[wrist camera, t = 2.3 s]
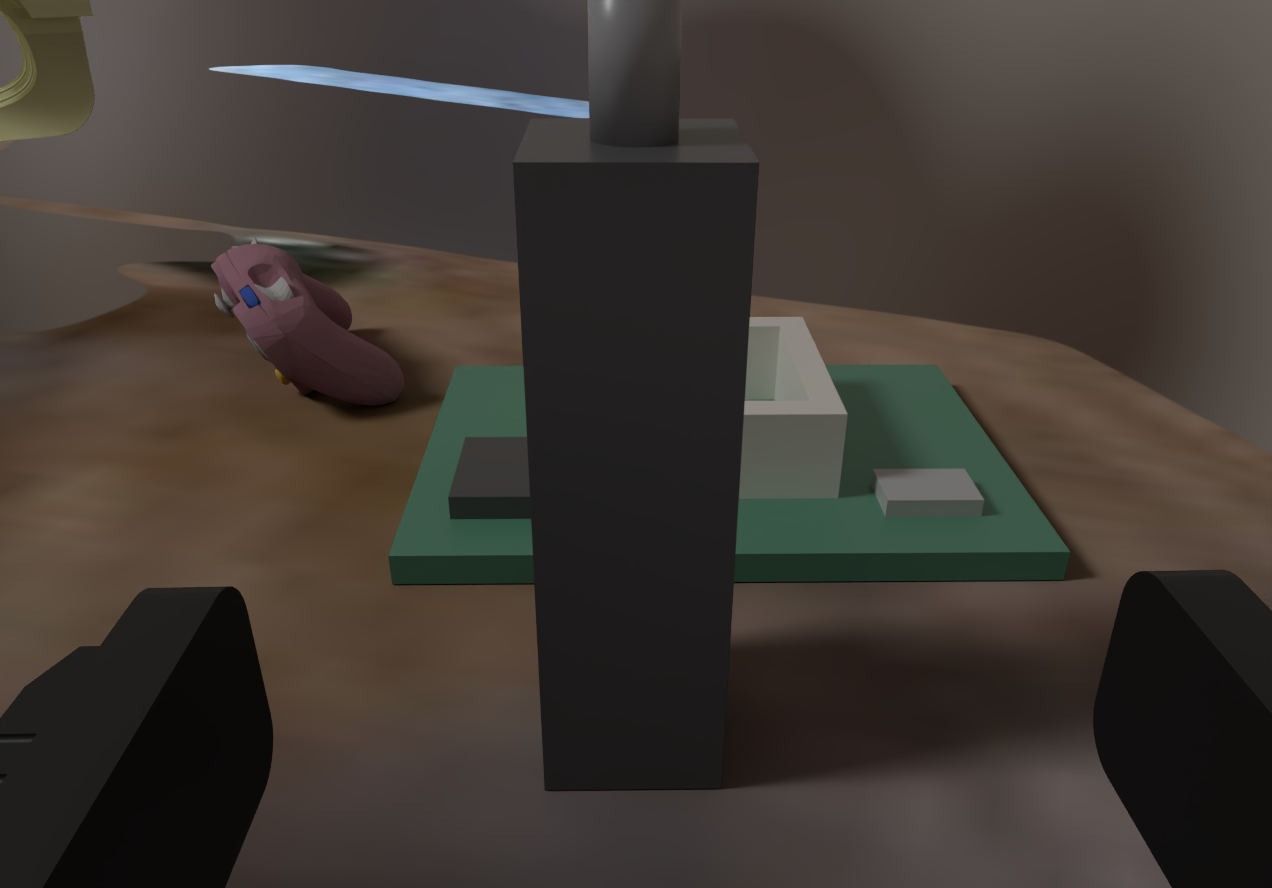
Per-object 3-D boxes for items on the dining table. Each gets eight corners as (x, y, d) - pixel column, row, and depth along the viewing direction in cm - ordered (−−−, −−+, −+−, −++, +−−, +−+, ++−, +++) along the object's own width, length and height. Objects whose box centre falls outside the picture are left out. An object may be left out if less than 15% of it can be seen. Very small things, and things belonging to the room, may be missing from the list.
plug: (545, 790, 23) (503, -43, 15) (555, 652, 27) (527, -53, 19) (721, 788, 23) (771, -43, 15) (704, 652, 27) (737, -52, 19)
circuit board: (392, 584, 30) (376, 465, 28) (457, 388, 42) (449, 296, 40) (1063, 579, 30) (1092, 462, 28) (933, 386, 43) (947, 296, 41)
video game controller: (275, 371, 48) (177, 251, 43) (356, 316, 48) (267, 193, 44) (324, 460, 40) (211, 324, 36) (420, 393, 41) (319, 252, 37)
